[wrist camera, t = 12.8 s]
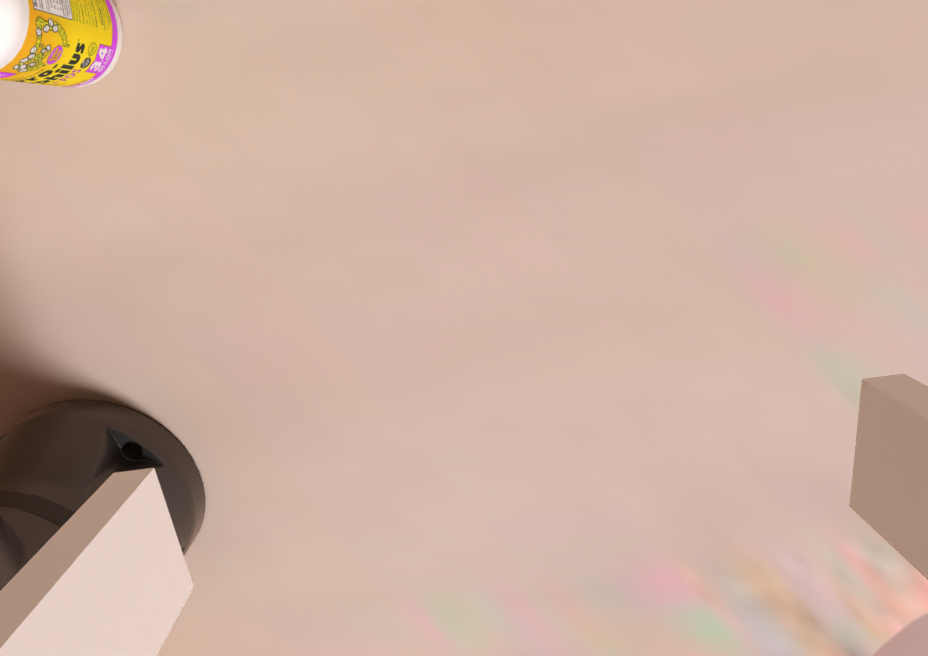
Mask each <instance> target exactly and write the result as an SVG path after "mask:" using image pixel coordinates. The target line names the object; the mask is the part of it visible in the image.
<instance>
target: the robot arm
mask: <svg viewBox="0 0 928 656" xmlns="http://www.w3.org/2000/svg"><path fill="white" fill-rule="evenodd" d="M850 507H851V508H852V509H853V510H854V511H855V512H856V513H857V514H858V515H859V516H860V517H861V518H863V519H864V520H865V521H866V522H867V523H868V524H869V525H870V526H871V527H872V528H873V529H874V530H875V531H876V532H877V533H879V534H880V535H881V536H882V537H883V538H884V539H885V540H886V541H887V542H888V543H889V544H890V545H891V546H892V547H894V548H895V549H896V550H897V551H898V552H899V553H900V554H901V555H902V556H903V557H904V558H905V559H906V560H907V561H908V562H910V563H911V564H912V565H913V566H914V567H915V568H916V569H917V570H918V571H919V572H920V573H921V574H922V575H923V576H925V577H926V578H927V579H928V387H927V386H926V385H924V384H922V383H920V382H918V381H916V380H914V379H913V378H911V377H909V376H907V375H905V374H899V375H891V376H883V377H875V378H867V379H862V385H861V395H860V406H859V416H858V426H857V436H856V446H855V456H854V467H853V477H852V487H851V497H850ZM204 513H205V492H204V487H203V483H202V479H201V477H200V474H199V471H198V469H197V467H196V465H195V463H194V462H193V460H192V458H191V457H190V455H189V454H188V452H187V451H186V450H185V448H184V447H183V446H182V445H181V444H180V443H179V441H178V440H177V439H176V438H175V437H174V436H173V435H171V434H170V433H169V432H168V431H167V430H165V429H164V428H163V427H162V426H160V425H159V424H157V423H156V422H154V421H153V420H151V419H149V418H148V417H146V416H144V415H142V414H140V413H138V412H136V411H133V410H131V409H128V408H125V407H123V406H119V405H116V404H112V403H107V402H101V401H93V400H72V401H64V402H59V403H55V404H51V405H48V406H45V407H43V408H40V409H38V410H36V411H34V412H32V413H31V414H29V415H28V416H26V417H25V418H23V419H22V420H20V421H19V422H17V423H16V424H14V425H13V426H11V427H10V428H9V429H7V430H6V431H5V432H3V433H2V434H1V435H0V656H157V654H158V652H159V650H160V648H161V647H162V645H163V643H164V641H165V639H166V637H167V636H168V634H169V632H170V630H171V628H172V626H173V625H174V623H175V621H176V619H177V617H178V615H179V614H180V612H181V610H182V608H183V606H184V604H185V603H186V601H187V599H188V597H189V595H190V593H191V592H192V590H193V588H194V586H193V583H192V580H191V577H190V574H189V571H188V568H187V565H186V562H185V559H184V555H185V554H186V552H187V550H188V549H189V547H190V546H191V544H192V543H193V541H194V539H195V538H196V536H197V534H198V532H199V530H200V528H201V525H202V522H203V518H204Z"/></svg>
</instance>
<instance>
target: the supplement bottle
mask: <svg viewBox="0 0 928 656" xmlns="http://www.w3.org/2000/svg"><path fill="white" fill-rule="evenodd" d="M122 40H123V33H122V24H121V20H120V16H119V13H118V11H117V8H116V6H115V4H114V3H113V1H112V0H0V80H6V81H15V82H25V83H34V84H43V85H53V86H62V87H82V86H87V85H91V84H93V83H96V82H98V81H99V80H101V79H103V78H104V77H105V76H106V75H107V74H108V73H109V72H110V71H111V70H112V69H113V68H114V66H115V64H116V62H117V61H118V58H119V56H120V52H121V48H122Z"/></svg>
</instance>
